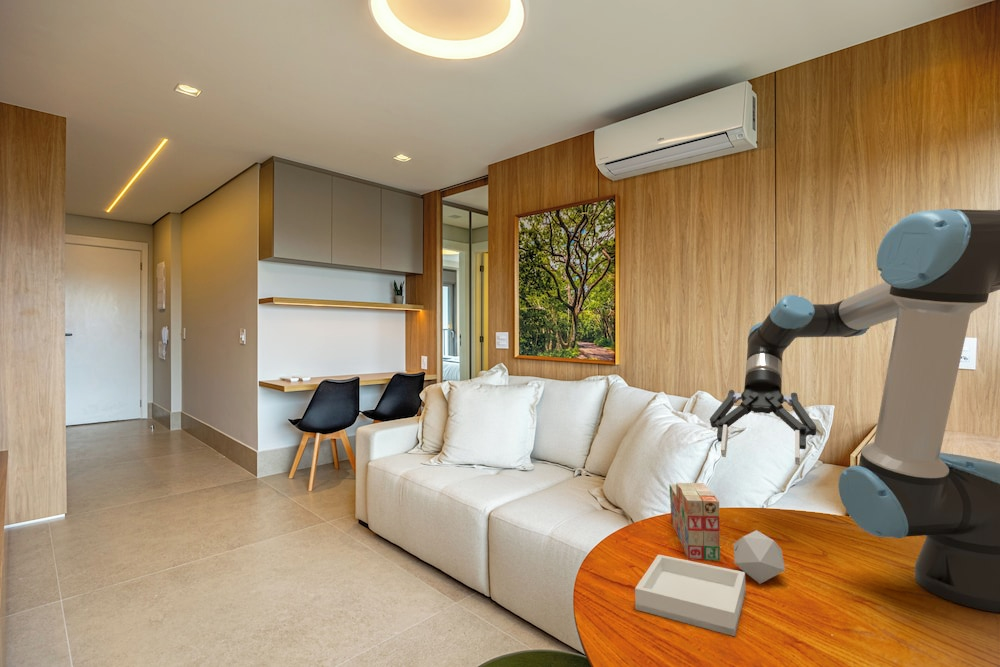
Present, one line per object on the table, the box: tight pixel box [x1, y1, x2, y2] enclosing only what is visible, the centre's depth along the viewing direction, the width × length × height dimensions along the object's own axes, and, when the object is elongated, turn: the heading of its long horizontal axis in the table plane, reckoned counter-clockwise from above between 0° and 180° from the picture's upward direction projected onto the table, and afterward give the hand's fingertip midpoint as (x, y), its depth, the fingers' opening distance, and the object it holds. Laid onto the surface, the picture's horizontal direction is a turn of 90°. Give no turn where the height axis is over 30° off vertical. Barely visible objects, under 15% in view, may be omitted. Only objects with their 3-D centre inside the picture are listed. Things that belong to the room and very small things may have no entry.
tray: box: [634, 554, 746, 637], centre depth 85 cm, size 15×15×4 cm
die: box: [733, 529, 786, 585], centre depth 93 cm, size 8×9×10 cm
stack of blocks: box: [668, 482, 721, 562], centre depth 111 cm, size 21×6×12 cm, turn 170°
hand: (759, 457), depth 103 cm, fingers open, 13 cm apart
